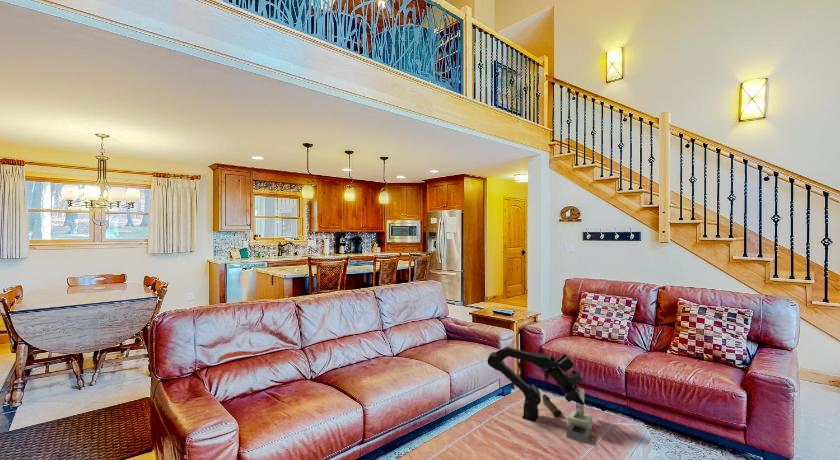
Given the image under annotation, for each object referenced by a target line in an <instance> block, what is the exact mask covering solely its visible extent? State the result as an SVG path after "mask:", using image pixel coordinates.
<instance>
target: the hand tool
mask: <svg viewBox="0 0 840 460" xmlns="http://www.w3.org/2000/svg"><path fill="white" fill-rule="evenodd" d="M542 403H543V405H544V406H546V407H547V409H548V410H549V411H550V412H551V413H552V415H553V417H554V418H555V417H559V418H561V417H562V410H560V409H559V408H558V407H557V406H556V405H555V404H554V403H553V402H552V401H551V399H550V397H549V396H548V394H546V393H545V394H543V395H542Z"/></svg>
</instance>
